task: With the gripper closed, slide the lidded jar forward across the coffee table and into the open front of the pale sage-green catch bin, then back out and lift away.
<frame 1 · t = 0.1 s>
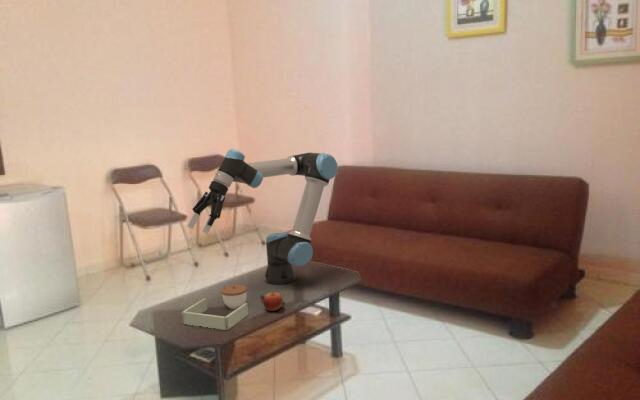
hand: (196, 230, 216), 36 cm above the table, tool tilted 35°, fingers open, 13 cm apart
lidded jar: (235, 306, 229), on the table
catch bin: (215, 319, 216), on the table
apple: (273, 310, 223), on the table
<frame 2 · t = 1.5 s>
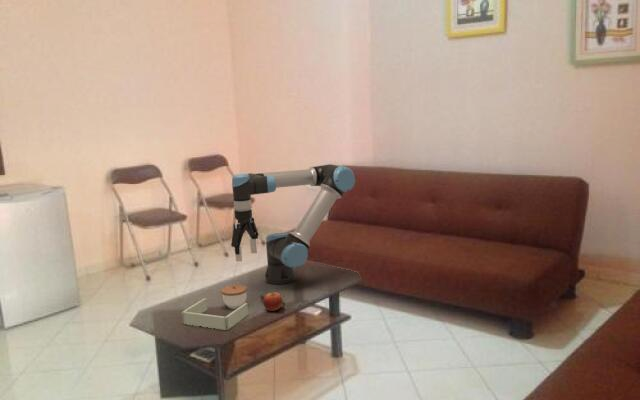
hand: (246, 257, 237), 18 cm above the table, tool pointing down, fingers open, 12 cm apart
nothing on the table moved.
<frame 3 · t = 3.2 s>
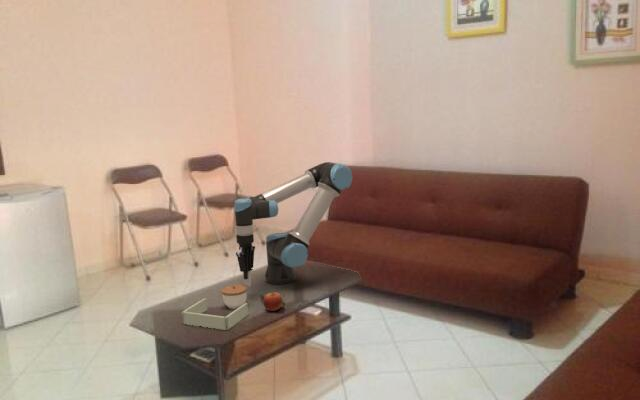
hand: (247, 285, 239), 5 cm above the table, tool pointing down, fingers closed
nothing on the table moved.
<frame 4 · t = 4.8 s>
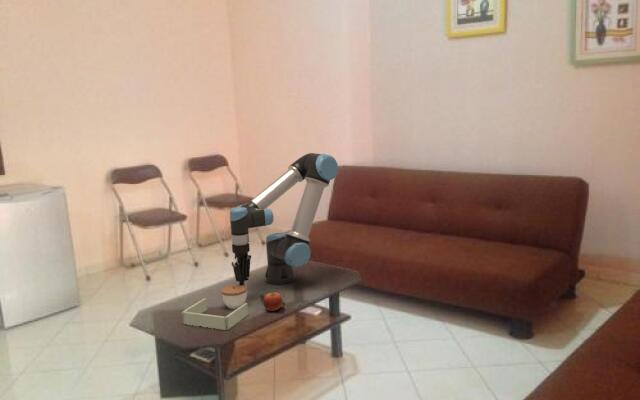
hand: (243, 294, 236), 2 cm above the table, tool pointing down, fingers closed
lidded jar: (235, 306, 229), on the table, touching gripper
everything else where it was.
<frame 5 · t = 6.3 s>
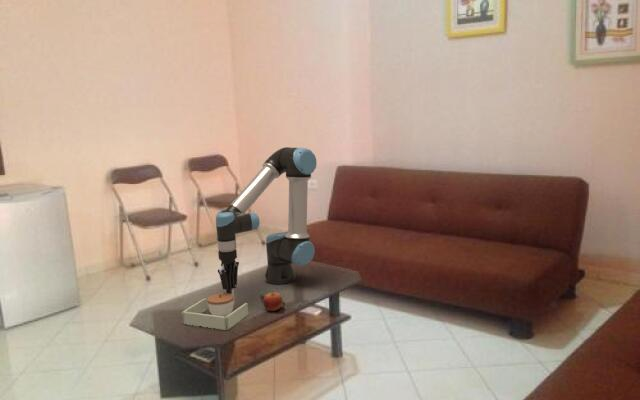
hand: (231, 303, 227), 2 cm above the table, tool pointing down, fingers closed
lidded jar: (221, 315, 220), on the table, touching gripper
everything else where it was.
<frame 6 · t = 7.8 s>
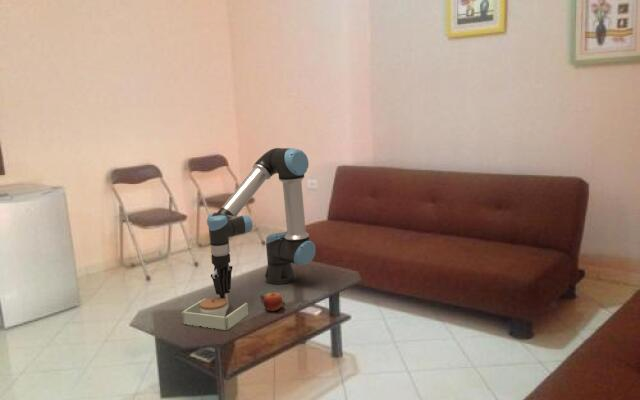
hand: (224, 308, 222), 2 cm above the table, tool pointing down, fingers closed
lidded jar: (214, 321, 215), on the table, touching gripper
everything else where it was.
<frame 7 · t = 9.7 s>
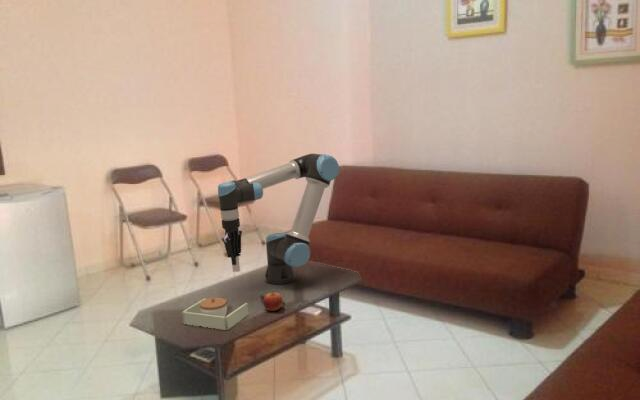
hand: (236, 271, 233), 14 cm above the table, tool pointing down, fingers closed
lidded jar: (214, 321, 215), on the table
everything else where it was.
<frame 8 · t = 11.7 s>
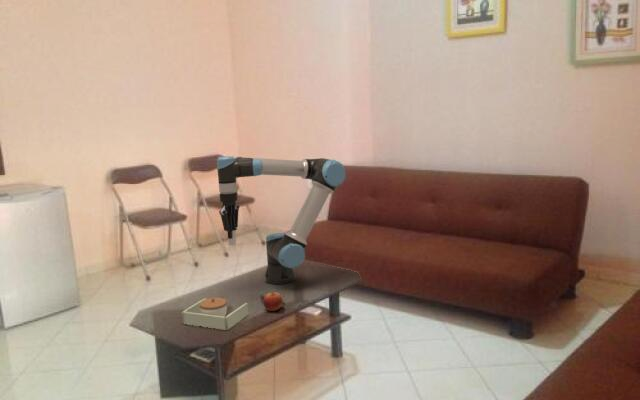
hand: (232, 245, 235), 24 cm above the table, tool pointing down, fingers closed
nothing on the table moved.
at the end: lidded jar inside the target area (0.7 cm from its centre), on the table; lidded jar tilted 0° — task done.
